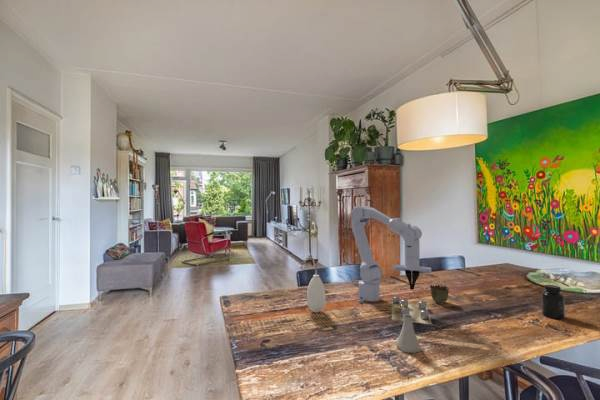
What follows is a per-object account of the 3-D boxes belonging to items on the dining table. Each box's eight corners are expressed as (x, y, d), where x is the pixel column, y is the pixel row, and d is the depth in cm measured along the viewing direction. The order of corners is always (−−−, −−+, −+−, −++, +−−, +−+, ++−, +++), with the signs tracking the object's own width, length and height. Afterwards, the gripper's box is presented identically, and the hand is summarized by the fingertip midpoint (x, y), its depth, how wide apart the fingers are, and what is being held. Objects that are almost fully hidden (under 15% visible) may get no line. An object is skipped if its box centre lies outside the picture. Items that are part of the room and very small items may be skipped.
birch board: (391, 322, 108) (391, 319, 108) (391, 305, 126) (391, 302, 126) (432, 327, 103) (432, 324, 103) (426, 308, 122) (426, 305, 122)
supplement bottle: (559, 314, 115) (559, 284, 115) (568, 320, 109) (568, 289, 109) (538, 312, 117) (538, 283, 118) (546, 318, 111) (546, 287, 111)
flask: (392, 342, 93) (392, 312, 93) (413, 341, 94) (413, 311, 94) (402, 354, 86) (402, 321, 86) (425, 353, 86) (425, 320, 86)
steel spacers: (392, 316, 111) (392, 308, 111) (392, 302, 126) (392, 295, 126) (429, 320, 106) (429, 312, 106) (425, 305, 122) (425, 298, 122)
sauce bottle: (327, 315, 115) (326, 270, 115) (307, 316, 114) (307, 271, 114) (324, 308, 123) (323, 266, 123) (306, 308, 122) (305, 266, 122)
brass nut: (394, 312, 115) (394, 307, 115) (394, 308, 118) (393, 303, 118) (404, 313, 113) (404, 308, 113) (404, 310, 117) (404, 305, 117)
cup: (451, 308, 121) (451, 290, 121) (432, 307, 123) (432, 289, 123) (445, 302, 129) (445, 284, 129) (428, 301, 130) (428, 284, 130)
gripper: (393, 256, 116) (393, 290, 116) (432, 259, 111) (432, 293, 111) (393, 253, 123) (393, 285, 123) (430, 255, 118) (430, 288, 118)
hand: (411, 289), depth 117 cm, fingers closed
